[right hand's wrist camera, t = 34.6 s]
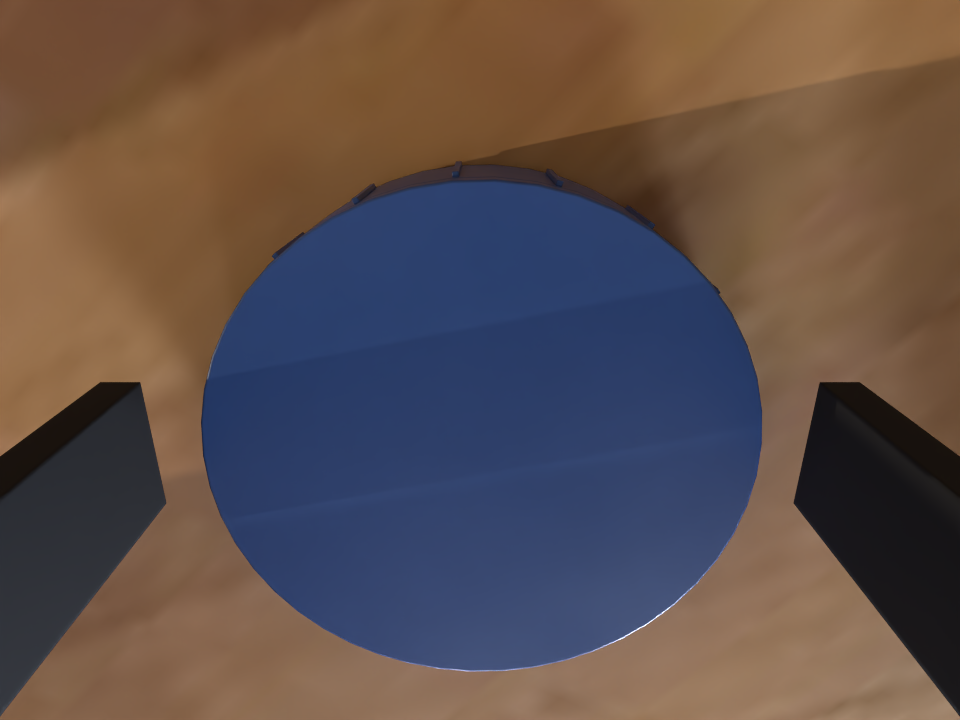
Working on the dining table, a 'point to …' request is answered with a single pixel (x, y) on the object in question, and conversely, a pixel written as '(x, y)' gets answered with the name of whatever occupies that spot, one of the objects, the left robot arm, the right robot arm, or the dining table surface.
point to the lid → (481, 420)
